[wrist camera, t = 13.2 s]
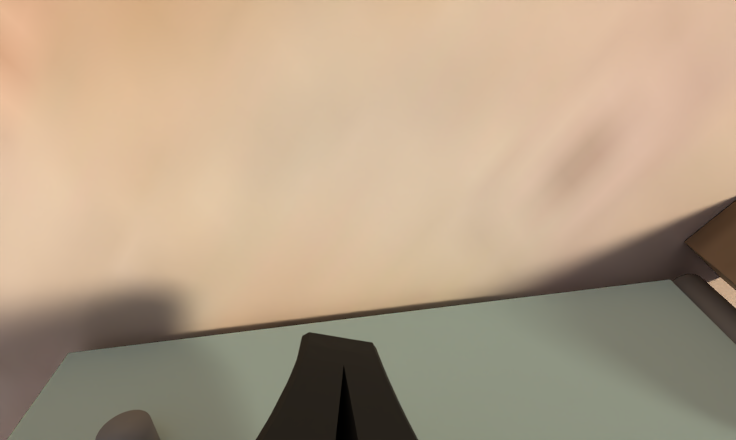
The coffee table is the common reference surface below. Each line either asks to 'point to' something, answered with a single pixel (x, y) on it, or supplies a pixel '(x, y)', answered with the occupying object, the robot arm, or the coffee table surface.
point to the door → (436, 372)
